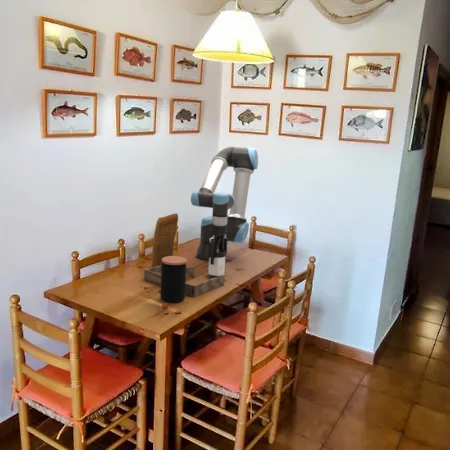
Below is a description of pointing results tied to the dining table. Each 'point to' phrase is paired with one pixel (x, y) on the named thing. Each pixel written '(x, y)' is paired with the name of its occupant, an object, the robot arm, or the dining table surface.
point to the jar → (217, 264)
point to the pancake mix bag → (164, 238)
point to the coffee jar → (173, 279)
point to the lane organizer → (191, 290)
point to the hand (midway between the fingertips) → (216, 269)
